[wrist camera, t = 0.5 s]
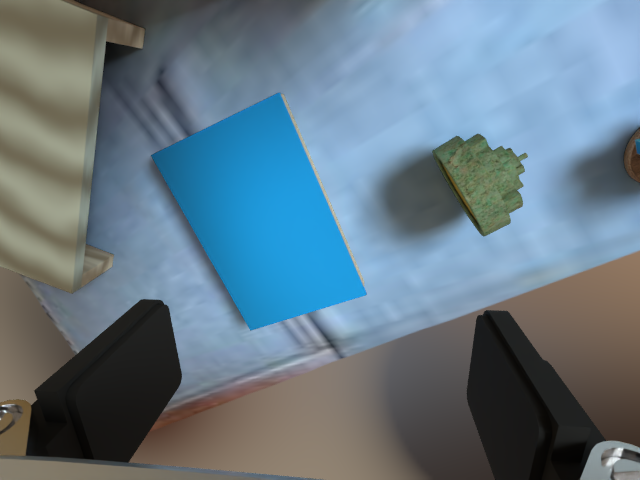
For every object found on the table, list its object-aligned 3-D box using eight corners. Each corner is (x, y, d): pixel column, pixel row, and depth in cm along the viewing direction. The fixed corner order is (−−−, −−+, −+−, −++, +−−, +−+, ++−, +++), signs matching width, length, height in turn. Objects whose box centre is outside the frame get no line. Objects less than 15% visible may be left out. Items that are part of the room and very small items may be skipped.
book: (277, 90, 36) (368, 295, 43) (287, 91, 40) (368, 279, 47) (144, 157, 41) (247, 334, 48) (164, 152, 45) (256, 316, 52)
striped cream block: (39, -13, 39) (-32, -37, 32) (145, 29, 39) (97, 14, 32) (31, 236, 51) (-22, 258, 44) (112, 266, 51) (72, 293, 44)
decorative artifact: (425, 144, 40) (443, 160, 31) (486, 106, 38) (525, 110, 28) (467, 217, 42) (495, 252, 33) (527, 185, 40) (574, 213, 31)
